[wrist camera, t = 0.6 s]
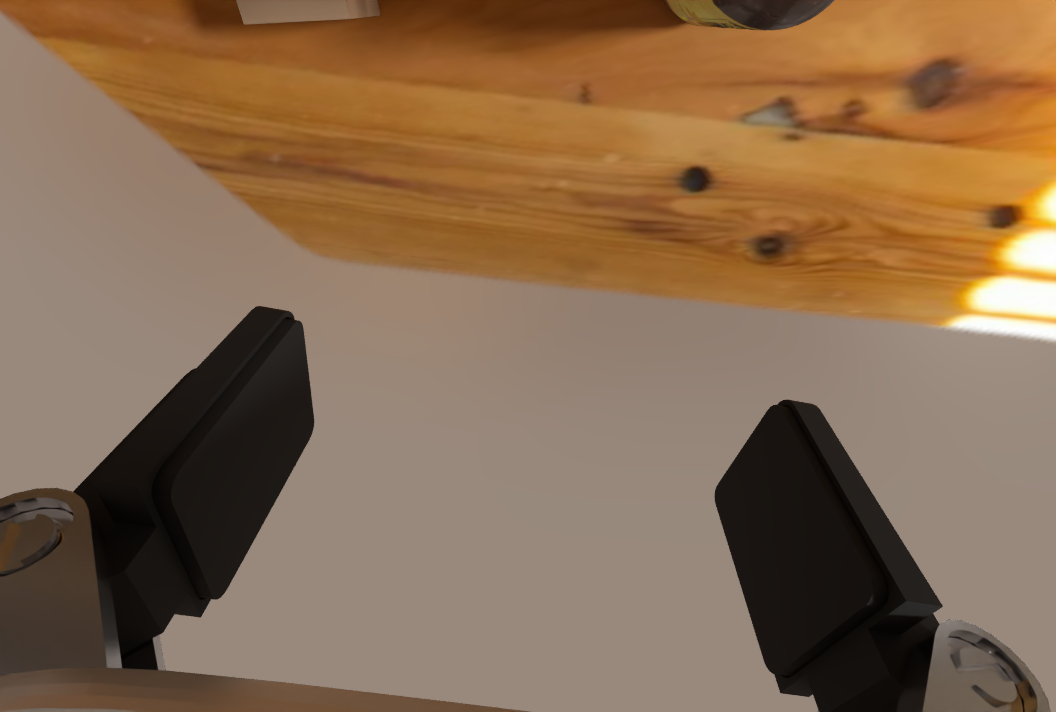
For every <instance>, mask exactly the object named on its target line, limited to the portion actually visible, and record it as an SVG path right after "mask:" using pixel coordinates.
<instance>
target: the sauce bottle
mask: <svg viewBox="0 0 1056 712" xmlns="http://www.w3.org/2000/svg"><path fill="white" fill-rule="evenodd" d="M664 1H665V3H666V4H667V6H668V7H669V9H670V10H672V11H673V12H674V13H675V14H676V15H677V16H678V17H680V18H681V19H682V20H684V21H686V22H687V23H689V24H692V25H695V26H706V27H721V28H735V29H750V30H780V29H786V28H789V27H793V26H796V25H799V24H801V23H803V22H805V21H807V20H810V19H812V18H813V17H815V16H816V15H818V14H819V13H820V12H822V11H823V10H824V9H825V8H827V7H828V6H829V5H830V4H831V3H832V2H833V1H834V0H664Z"/></svg>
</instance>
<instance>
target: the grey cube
mask: <svg viewBox="0 0 1056 712" xmlns="http://www.w3.org/2000/svg"><path fill="white" fill-rule="evenodd" d="M236 2H237V5H238V8H239V11H240V14H241V17H242V20H243V23H244V24H263V23H282V22H302V21H321V20H340V19H354V18H363V17H372V16H381V15H380V10H379V4H378V0H236Z"/></svg>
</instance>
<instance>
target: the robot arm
mask: <svg viewBox="0 0 1056 712" xmlns="http://www.w3.org/2000/svg"><path fill="white" fill-rule="evenodd" d="M313 427H314V415H313V407H312V398H311V389H310V381H309V372H308V364H307V355H306V347H305V339H304V330H303V325H302V323H301V322H300V321H297V320H294V316H293V314H292V313H291V312H289V311H285V310H279V309H273V308H268V307H262V306H257V307H255V308H254V309H252V310H251V311H250V312H249V314H248V315H247V316H246V317H245V318H244V319H243V320H242V321H241V322H240V323H239V324H238V325H237V326H236V327H235V328H234V329H233V330H232V331H231V332H230V334H229V335H228V336H227V337H226V338H225V339H224V340H223V341H222V342H221V343H220V344H219V345H218V346H217V347H216V348H215V349H214V351H213V352H211V353H210V355H209V356H208V357H207V358H206V359H205V360H204V361H203V362H202V363H201V364H200V365H199V366H198V367H197V368H196V369H193V370H191V371H190V372H189V373H188V374H186V375H185V376H184V377H183V378H182V379H181V380H180V382H178V384H176V385H175V387H174V388H173V389H172V390H171V391H170V392H169V393H168V394H167V395H166V396H165V397H164V398H163V399H162V400H161V401H160V402H159V403H158V404H157V405H156V406H155V407H154V408H153V409H152V410H151V411H150V413H148V415H147V416H146V417H145V418H144V419H143V420H142V421H141V422H140V423H139V424H138V425H137V426H136V427H135V428H134V429H133V430H132V431H131V432H130V433H129V434H128V435H127V437H125V438H124V439H123V441H122V442H121V443H120V444H119V445H118V446H117V447H116V448H115V449H114V450H113V451H112V452H111V453H110V454H109V455H108V456H107V457H106V458H105V459H104V460H103V461H102V462H101V463H100V464H99V465H98V466H97V467H96V469H95V470H94V471H93V472H92V473H91V474H90V475H89V476H88V477H87V478H86V479H85V480H84V481H83V482H82V483H81V484H80V485H79V486H78V487H77V488H76V489H75V490H74V491H73V492H72V491H68V490H63V489H59V488H41V489H32V490H28V491H24V492H19V493H14V494H11V495H9V496H6V497H4V498H1V499H0V712H528V711H520V710H511V709H503V708H496V707H487V706H479V705H471V704H462V703H454V702H446V701H437V700H429V699H421V698H411V697H403V696H395V695H387V694H378V693H369V692H361V691H353V690H344V689H335V688H327V687H319V686H310V685H302V684H293V683H285V682H274V681H265V680H255V679H245V678H234V677H225V676H215V675H205V674H195V673H194V674H193V673H184V672H175V671H166V668H165V663H164V658H163V652H162V647H161V642H160V636H159V635H160V634H161V633H163V632H164V630H165V629H166V627H167V625H168V624H169V622H170V620H171V619H172V617H173V616H174V614H179V615H186V616H194V617H201V616H202V614H203V613H204V611H205V609H206V607H207V605H208V604H209V602H210V600H211V599H219V598H220V597H221V596H222V595H223V594H224V593H225V591H226V590H227V588H228V587H229V585H230V583H231V581H232V579H233V577H234V576H235V574H236V572H237V570H238V568H239V567H240V564H241V563H242V561H243V559H244V557H245V555H246V554H247V552H248V550H249V548H250V546H251V545H252V543H253V541H254V539H255V537H256V535H257V534H258V532H259V530H260V528H261V526H262V524H263V523H264V521H265V519H266V517H267V516H268V514H269V512H270V510H271V508H272V507H273V505H274V503H275V501H276V499H277V497H278V496H279V494H280V492H281V490H282V488H283V486H284V485H285V483H286V481H287V479H288V477H289V476H290V474H291V472H292V470H293V468H294V466H295V465H296V463H297V461H298V459H299V457H300V456H301V454H302V452H303V450H304V448H305V447H306V445H307V443H308V441H309V439H310V437H311V435H312V431H313ZM715 503H716V507H717V510H718V513H719V516H720V520H721V523H722V526H723V529H724V533H725V536H726V539H727V542H728V545H729V549H730V552H731V555H732V559H733V562H734V565H735V568H736V572H737V575H738V578H739V581H740V585H741V588H742V591H743V594H744V598H745V601H746V604H747V607H748V610H749V614H750V617H751V620H752V624H753V627H754V630H755V633H756V636H757V640H758V643H759V646H760V649H761V652H762V656H763V659H764V662H765V664H766V666H767V668H768V670H769V671H770V672H771V673H773V674H775V678H776V681H777V684H778V687H779V690H780V693H783V694H791V695H799V696H806V697H809V696H811V695H812V694H813V695H814V698H815V701H816V704H817V707H818V712H1051V711H1050V707H1049V702H1048V699H1047V697H1046V695H1045V693H1044V691H1043V689H1042V687H1041V685H1040V683H1039V682H1038V680H1037V679H1036V678H1035V676H1034V675H1033V674H1032V672H1031V671H1030V670H1029V668H1028V667H1027V666H1026V664H1025V663H1024V662H1023V661H1022V660H1021V659H1020V658H1019V657H1018V656H1017V655H1016V654H1015V653H1014V652H1013V651H1012V650H1011V649H1010V648H1008V647H1007V646H1006V645H1004V644H1003V643H1002V642H1001V641H1000V640H998V639H997V638H996V637H994V636H993V635H992V634H989V633H988V632H986V631H985V630H983V629H981V628H979V627H978V626H976V625H973V624H970V623H967V622H964V621H962V620H947V621H945V622H942V623H941V624H939V623H938V621H937V620H936V618H935V616H934V614H933V613H934V612H936V611H937V610H938V609H940V608H941V607H943V606H942V604H941V603H940V601H939V600H938V598H937V596H936V595H935V593H934V592H933V590H932V588H931V587H930V585H929V583H928V582H927V580H926V579H925V577H924V575H923V574H922V573H921V571H920V569H919V567H918V566H917V564H916V563H915V561H914V559H913V558H912V556H911V555H910V553H909V551H908V550H907V548H906V547H905V545H904V544H903V542H902V540H901V539H900V537H899V535H898V534H897V532H896V531H895V529H894V527H893V526H892V524H891V523H890V521H889V519H888V518H887V516H886V515H885V513H884V511H883V510H882V509H881V507H880V505H879V503H878V502H877V500H876V499H875V497H874V495H873V494H872V492H871V491H870V489H869V487H868V486H867V484H866V483H865V481H864V479H863V478H862V476H861V475H860V473H859V471H858V470H857V469H856V467H855V465H854V463H853V462H852V460H851V459H850V457H849V455H848V454H847V452H846V451H845V449H844V447H843V446H842V444H841V443H840V441H839V439H838V438H837V436H836V435H835V433H834V431H833V430H832V428H831V427H830V425H829V423H828V422H827V420H826V419H825V417H824V415H823V414H822V412H821V411H820V409H819V408H818V407H817V406H815V405H813V404H809V403H804V402H798V401H792V400H783V401H781V402H779V404H778V405H773V406H771V407H770V408H769V409H768V411H767V412H766V414H765V415H764V417H763V418H762V419H761V421H760V423H759V424H758V426H757V427H756V428H755V430H754V431H753V433H752V434H751V436H750V437H749V439H748V440H747V442H746V443H745V445H744V446H743V448H742V449H741V451H740V452H739V454H738V455H737V457H736V458H735V460H734V461H733V463H732V464H731V466H730V467H729V469H728V470H727V471H726V473H725V474H724V476H723V477H722V479H721V481H720V482H719V484H718V485H717V487H716V490H715Z"/></svg>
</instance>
